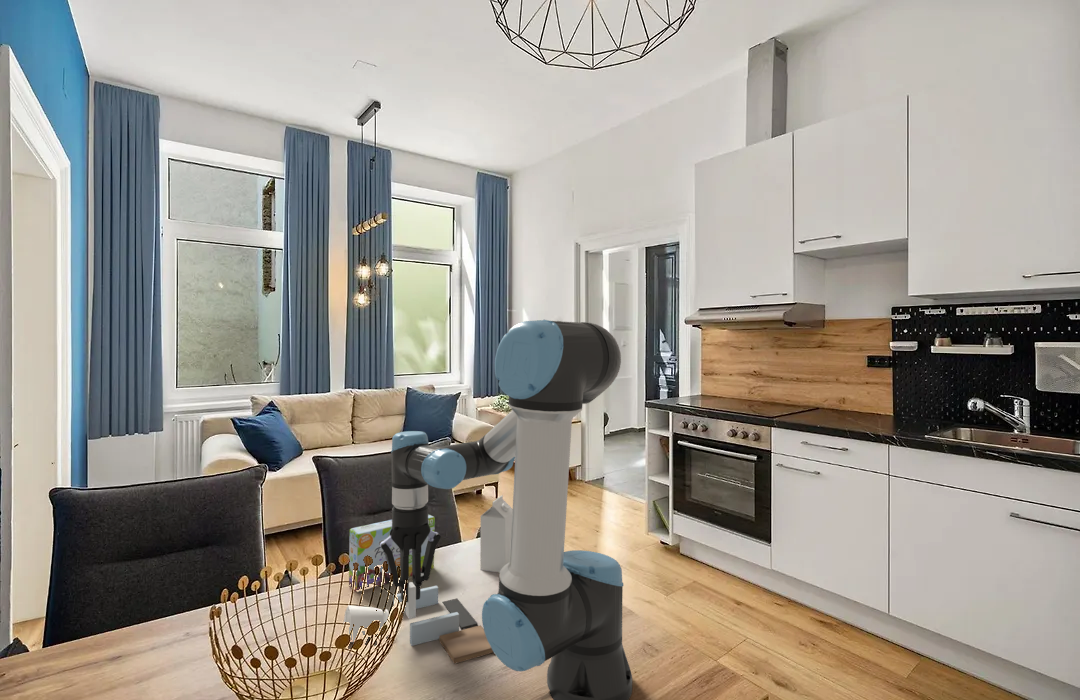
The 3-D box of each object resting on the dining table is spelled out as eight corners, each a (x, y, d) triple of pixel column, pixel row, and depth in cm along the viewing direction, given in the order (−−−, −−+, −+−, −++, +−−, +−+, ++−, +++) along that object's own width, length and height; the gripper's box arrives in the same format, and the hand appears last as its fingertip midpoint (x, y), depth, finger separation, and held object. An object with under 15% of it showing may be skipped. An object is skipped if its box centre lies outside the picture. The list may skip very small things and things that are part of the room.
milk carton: (480, 572, 143) (480, 501, 143) (490, 562, 150) (490, 494, 150) (505, 575, 141) (505, 503, 141) (514, 565, 148) (514, 496, 148)
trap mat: (477, 625, 116) (477, 623, 116) (461, 629, 114) (461, 627, 114) (457, 600, 127) (457, 598, 127) (442, 603, 125) (442, 601, 125)
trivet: (497, 651, 106) (497, 646, 106) (454, 663, 102) (454, 658, 102) (480, 629, 114) (480, 625, 114) (439, 640, 110) (439, 635, 110)
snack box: (357, 596, 129) (357, 533, 129) (348, 588, 133) (348, 527, 133) (435, 572, 143) (435, 515, 143) (424, 565, 148) (424, 510, 147)
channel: (459, 633, 112) (459, 614, 112) (411, 645, 108) (411, 626, 108) (436, 602, 126) (436, 585, 126) (393, 612, 121) (393, 594, 121)
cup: (387, 594, 115) (348, 597, 112) (395, 632, 107) (353, 636, 103) (380, 621, 117) (341, 624, 113) (387, 659, 109) (345, 664, 105)
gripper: (434, 496, 121) (434, 601, 121) (375, 504, 115) (375, 615, 115) (445, 504, 115) (445, 615, 115) (383, 514, 109) (383, 631, 109)
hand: (410, 615), depth 115 cm, fingers closed
